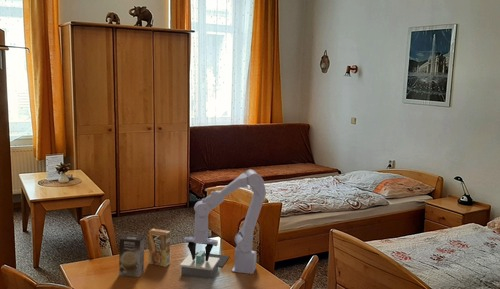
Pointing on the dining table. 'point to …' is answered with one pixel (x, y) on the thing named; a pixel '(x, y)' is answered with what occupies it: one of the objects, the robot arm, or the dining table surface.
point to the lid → (200, 262)
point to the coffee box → (131, 255)
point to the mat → (222, 259)
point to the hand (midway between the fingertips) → (200, 259)
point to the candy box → (159, 247)
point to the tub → (198, 272)
